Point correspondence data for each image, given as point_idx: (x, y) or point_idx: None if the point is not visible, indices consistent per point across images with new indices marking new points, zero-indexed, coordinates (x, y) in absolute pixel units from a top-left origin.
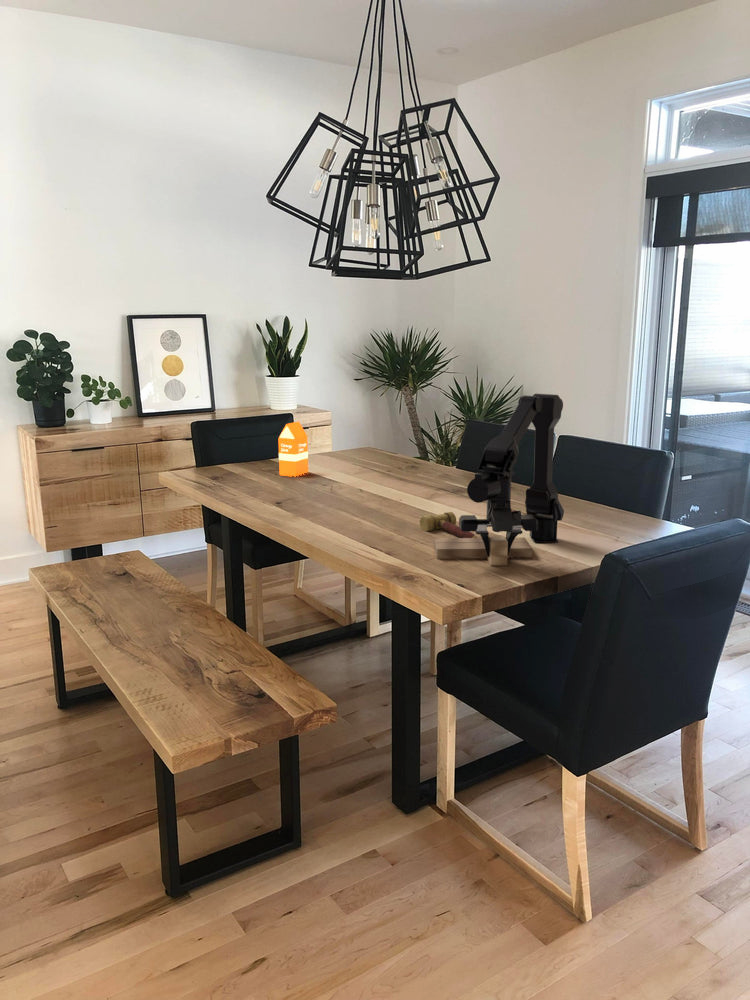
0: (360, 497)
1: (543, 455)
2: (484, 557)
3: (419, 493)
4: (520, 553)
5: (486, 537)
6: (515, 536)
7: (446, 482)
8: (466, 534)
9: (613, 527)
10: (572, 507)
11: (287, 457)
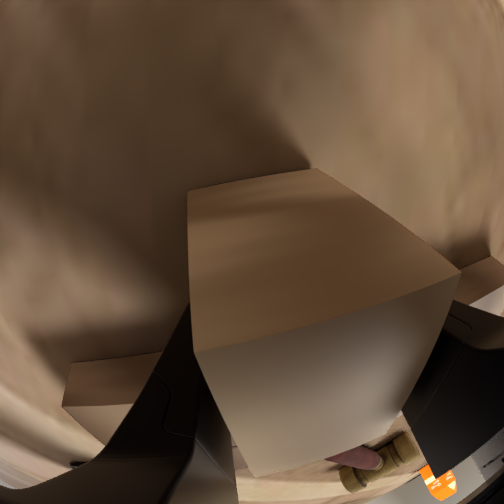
0: (413, 463)
1: None
2: None
3: (342, 498)
4: (122, 377)
5: (493, 338)
6: (87, 466)
7: None
8: (348, 450)
9: (33, 485)
10: None
11: None
